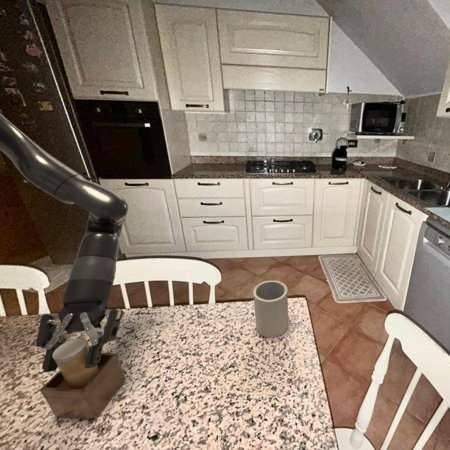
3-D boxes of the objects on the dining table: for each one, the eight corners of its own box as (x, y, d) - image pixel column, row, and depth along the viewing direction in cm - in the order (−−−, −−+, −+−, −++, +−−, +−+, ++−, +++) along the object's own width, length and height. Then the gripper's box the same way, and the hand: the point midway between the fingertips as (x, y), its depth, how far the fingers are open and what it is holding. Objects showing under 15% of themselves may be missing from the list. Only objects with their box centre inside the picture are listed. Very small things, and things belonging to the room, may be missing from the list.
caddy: (55, 417, 48) (39, 389, 45) (91, 377, 55) (79, 351, 52) (95, 419, 47) (82, 392, 44) (126, 379, 55) (116, 353, 52)
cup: (250, 322, 71) (247, 288, 66) (276, 309, 76) (275, 276, 71) (267, 343, 64) (264, 306, 59) (294, 326, 69) (294, 292, 65)
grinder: (60, 388, 47) (44, 358, 44) (83, 365, 51) (69, 337, 48) (85, 390, 46) (70, 360, 43) (105, 366, 51) (93, 338, 48)
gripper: (39, 279, 48) (6, 377, 41) (117, 274, 50) (98, 368, 43) (68, 285, 55) (45, 370, 48) (137, 281, 56) (122, 363, 50)
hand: (70, 369), depth 46 cm, fingers open, 6 cm apart
